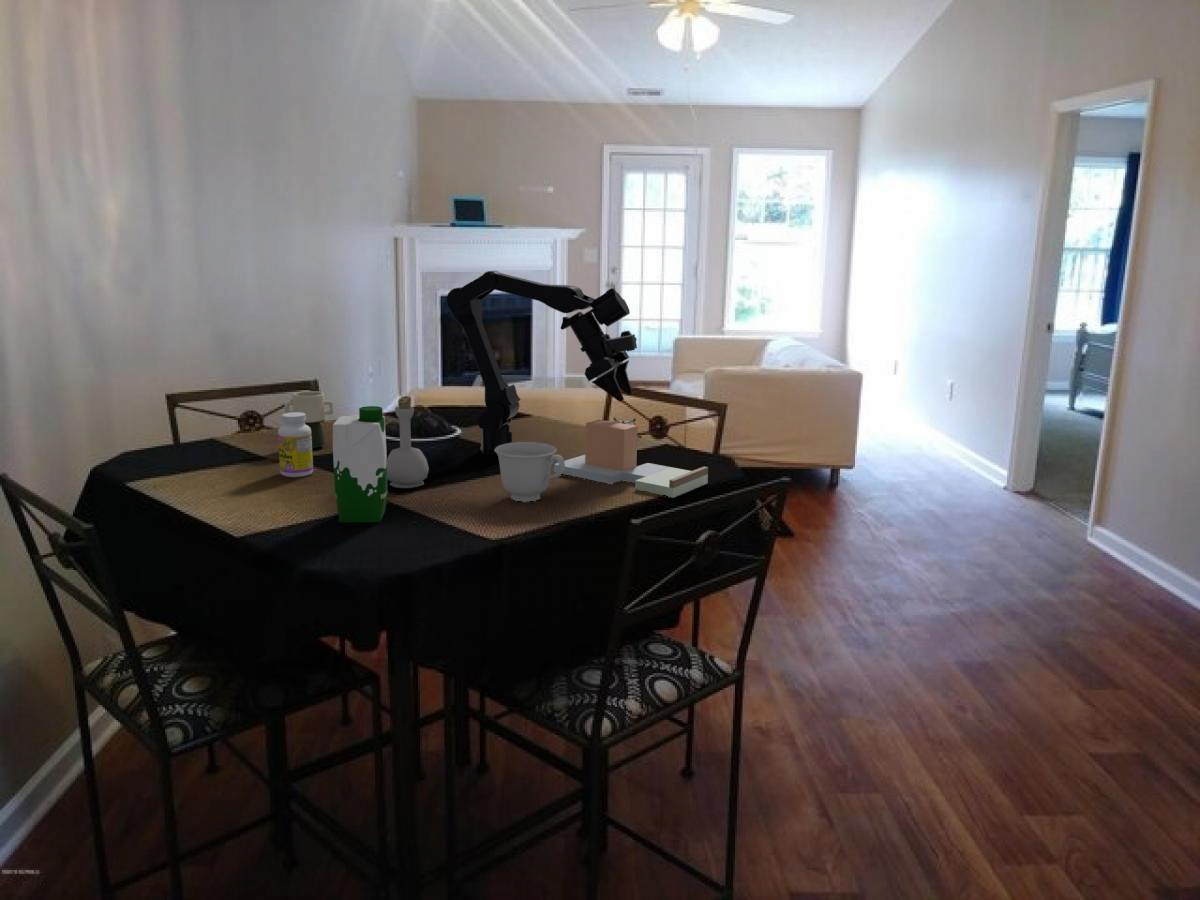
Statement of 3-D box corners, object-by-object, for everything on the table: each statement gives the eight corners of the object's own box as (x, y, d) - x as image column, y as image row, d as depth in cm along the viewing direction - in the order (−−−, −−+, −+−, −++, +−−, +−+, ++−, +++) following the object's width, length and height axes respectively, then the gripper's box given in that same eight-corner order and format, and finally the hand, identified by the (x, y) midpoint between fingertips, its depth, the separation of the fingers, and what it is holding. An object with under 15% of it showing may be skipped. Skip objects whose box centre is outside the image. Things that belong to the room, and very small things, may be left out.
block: (585, 463, 201) (585, 423, 199) (598, 459, 205) (599, 419, 203) (623, 471, 196) (624, 429, 194) (636, 466, 200) (637, 425, 198)
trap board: (553, 473, 201) (553, 457, 200) (591, 461, 212) (591, 446, 211) (673, 497, 184) (673, 480, 183) (707, 483, 195) (708, 467, 195)
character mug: (335, 443, 224) (333, 390, 221) (334, 450, 217) (331, 395, 214) (288, 445, 221) (285, 391, 218) (285, 452, 215) (282, 396, 212)
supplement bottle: (274, 473, 196) (270, 413, 193) (303, 468, 201) (299, 409, 198) (290, 479, 192) (287, 418, 189) (319, 474, 196) (316, 414, 193)
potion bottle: (436, 480, 193) (434, 395, 189) (414, 491, 185) (411, 402, 181) (399, 476, 196) (396, 392, 192) (376, 487, 188) (372, 399, 184)
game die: (628, 464, 225) (651, 430, 225) (626, 460, 216) (650, 425, 217) (598, 444, 226) (621, 410, 227) (594, 439, 218) (619, 404, 218)
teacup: (545, 513, 172) (545, 461, 170) (482, 500, 180) (481, 450, 178) (580, 498, 182) (581, 449, 180) (519, 486, 190) (519, 439, 188)
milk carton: (384, 524, 165) (380, 413, 160) (332, 524, 164) (327, 412, 159) (391, 509, 173) (387, 403, 168) (341, 509, 172) (336, 403, 168)
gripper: (612, 322, 196) (649, 386, 197) (630, 315, 214) (663, 374, 215) (568, 348, 200) (605, 411, 201) (589, 339, 218) (623, 397, 219)
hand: (626, 397), depth 209 cm, fingers open, 9 cm apart
